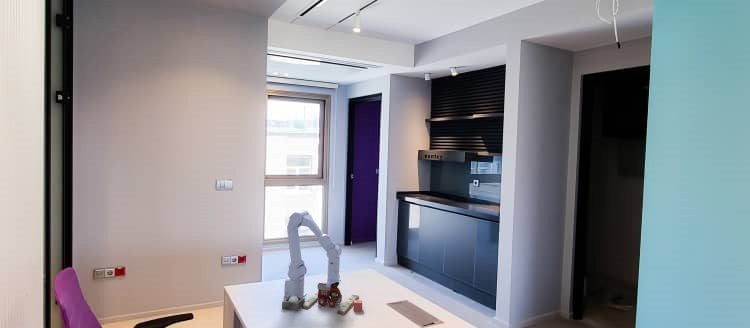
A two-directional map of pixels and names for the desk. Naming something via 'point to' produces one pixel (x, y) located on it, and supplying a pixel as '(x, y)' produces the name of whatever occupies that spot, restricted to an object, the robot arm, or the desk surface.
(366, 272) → the desk surface
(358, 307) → the red die
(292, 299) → the dome button
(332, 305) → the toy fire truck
